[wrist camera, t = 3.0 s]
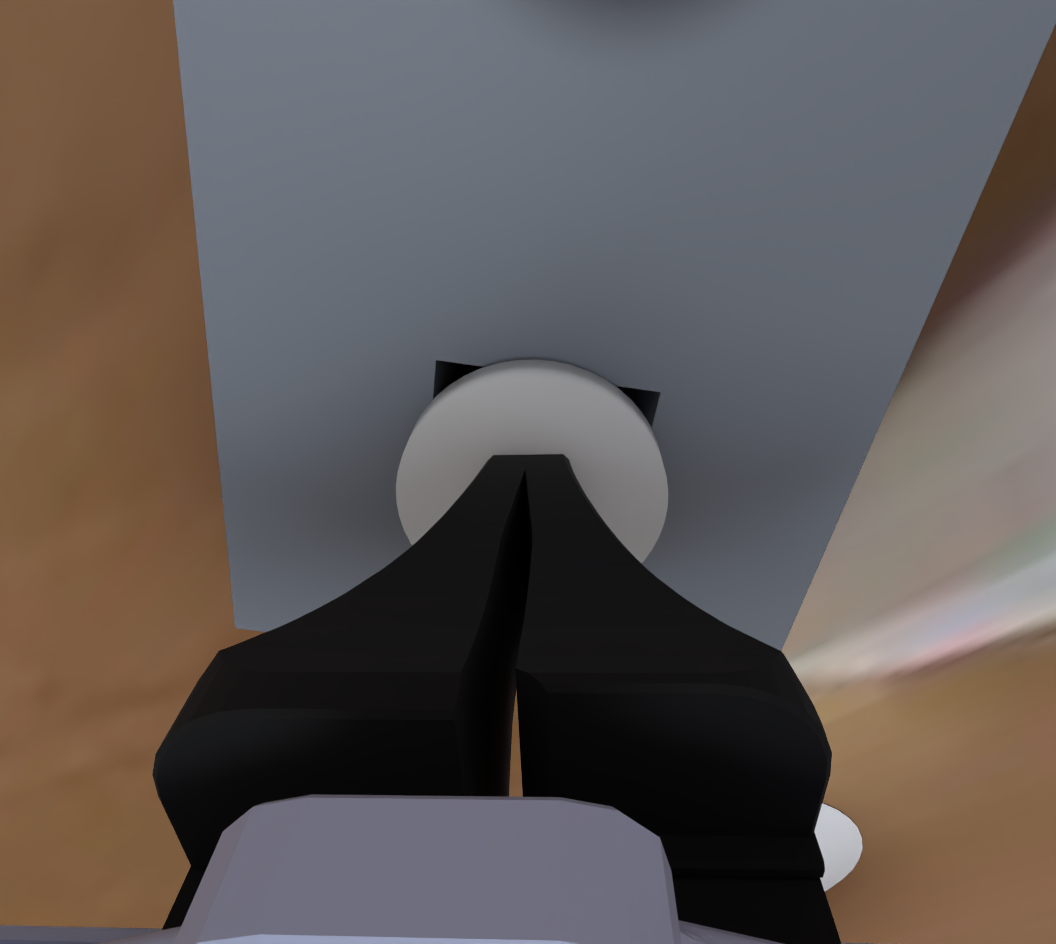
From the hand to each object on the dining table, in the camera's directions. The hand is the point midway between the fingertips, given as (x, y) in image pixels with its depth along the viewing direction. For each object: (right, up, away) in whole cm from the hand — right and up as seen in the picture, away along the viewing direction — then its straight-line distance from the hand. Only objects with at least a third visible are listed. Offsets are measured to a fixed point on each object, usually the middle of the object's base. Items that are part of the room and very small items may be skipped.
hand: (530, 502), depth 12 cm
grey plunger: (0, +2, +3) cm, 4 cm away
